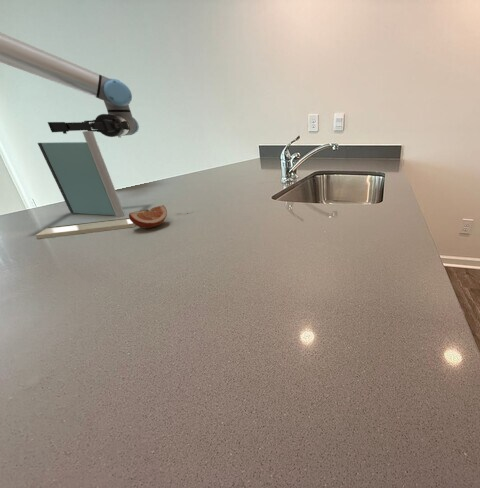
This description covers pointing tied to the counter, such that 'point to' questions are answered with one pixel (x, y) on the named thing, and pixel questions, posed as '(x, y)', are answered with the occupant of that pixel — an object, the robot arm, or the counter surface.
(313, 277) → the counter surface
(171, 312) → the counter surface
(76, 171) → the shower door
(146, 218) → the fruit slice
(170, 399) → the counter surface
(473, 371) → the counter surface
